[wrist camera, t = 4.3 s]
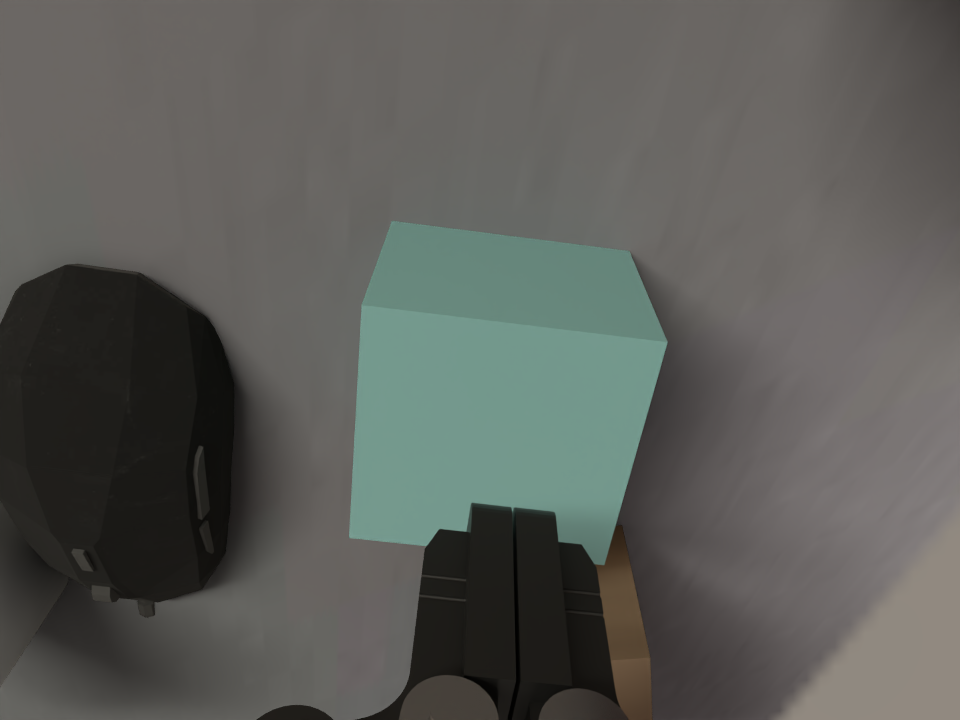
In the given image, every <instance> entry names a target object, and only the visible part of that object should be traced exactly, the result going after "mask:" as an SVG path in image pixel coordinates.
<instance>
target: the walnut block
mask: <svg viewBox="0 0 960 720" xmlns="http://www.w3.org/2000/svg"><path fill="white" fill-rule="evenodd" d="M595 566H596V567H597V573H598V580H599V586H600V597H601V599H602V606H603V618H604V619H605V626H606V632H607V639H608V645H609V652H610V658H611V665H612V671H613V678H614V684H615V691H616V696H617V700H618V702H619V705H620V707H621V709H622V710H623V712H624V713H625V714H626V716H627V717H628V719H629V720H652V693H651V665H650V654H649V649H648V645H647V640H646V635H645V631H644V626H643V621H642V617H641V612H640V607H639V603H638V598H637V593H636V588H635V584H634V579H633V574H632V570H631V565H630V560H629V556H628V551H627V546H626V542H625V537H624V532H623V527H622V525H619V526H615V529H614V533H613V536H612V540H611V543H610V547H609V550H608V554H607V557H606V561H605V564H604V565H598V564H595Z"/></svg>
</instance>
